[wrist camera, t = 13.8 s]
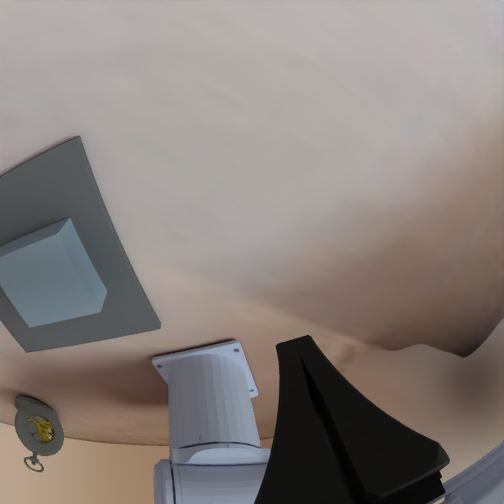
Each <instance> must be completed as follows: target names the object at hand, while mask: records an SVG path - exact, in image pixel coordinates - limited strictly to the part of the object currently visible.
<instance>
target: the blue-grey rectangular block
mask: <svg viewBox="0 0 504 504" xmlns="http://www.w3.org/2000/svg"><path fill="white" fill-rule="evenodd" d="M0 286H1V287H2V289H3V290H4V292H5V293H6V295H7V297H8V298H9V300H10V301H11V302H12V304H13V305H14V307H15V308H16V310H17V311H18V313H19V314H20V315H21V317H22V318H23V319H24V321H25V322H26V324H27V325H28V326H29V328H31V327H35V326H40V325H45V324H49V323H54V322H59V321H63V320H68V319H72V318H77V317H81V316H86V315H90V314H95V313H99V312H101V310H102V307H103V303H104V300H105V297H106V294H107V290H106V288H105V286H104V284H103V283H102V281H101V279H100V277H99V275H98V273H97V272H96V270H95V268H94V266H93V264H92V262H91V260H90V258H89V256H88V254H87V252H86V250H85V248H84V246H83V244H82V242H81V240H80V238H79V236H78V234H77V232H76V230H75V228H74V225H73V223H72V221H71V219H70V218H67V219H64V220H62V221H59V222H57V223H54V224H52V225H49V226H47V227H44V228H42V229H39V230H37V231H35V232H32V233H30V234H28V235H25V236H23V237H21V238H18V239H16V240H14V241H12V242H9V243H7V244H5V245H3V246H1V247H0Z"/></svg>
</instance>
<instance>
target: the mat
mask: <svg viewBox="0 0 504 504" xmlns="http://www.w3.org/2000/svg"><path fill="white" fill-rule="evenodd" d="M67 218H70V219H71V221H72V223H73V225H74V228H75V230H76V232H77V234H78V236H79V238H80V240H81V242H82V244H83V246H84V248H85V250H86V252H87V254H88V256H89V258H90V260H91V262H92V264H93V266H94V268H95V270H96V272H97V273H98V275H99V277H100V279H101V281H102V283H103V284H104V286H105V288H106V290H107V294H106V297H105V300H104V303H103V307H102V310H101V312H99V313H95V314H90V315H86V316H81V317H77V318H72V319H68V320H63V321H59V322H54V323H49V324H45V325H40V326H35V327H31V328H29V326H28V325H27V324H26V322H25V321H24V319H23V318H22V317H21V315H20V314H19V313H18V311H17V310H16V308H15V307H14V305H13V304H12V302H11V301H10V300H9V298H8V297H7V295H6V293H5V292H4V290H3V289H2V287H1V286H0V320H1V321H2V323H3V324H4V325H5V327H6V328H7V329H8V331H9V332H10V333H11V334H12V336H13V337H14V338H15V339H16V341H17V342H18V343H19V344H20V346H21V347H22V348H23V349H24V350H25V352H26V353H27V352H34V351H41V350H48V349H54V348H61V347H67V346H73V345H79V344H84V343H90V342H96V341H101V340H107V339H112V338H117V337H122V336H127V335H132V334H137V333H142V332H147V331H152V330H157V329H161V323H160V321H159V319H158V317H157V315H156V313H155V311H154V310H153V308H152V306H151V304H150V302H149V300H148V298H147V296H146V294H145V292H144V290H143V288H142V286H141V284H140V282H139V280H138V278H137V276H136V274H135V272H134V270H133V268H132V266H131V264H130V262H129V259H128V257H127V255H126V253H125V251H124V249H123V246H122V244H121V242H120V240H119V237H118V235H117V233H116V231H115V228H114V226H113V224H112V221H111V219H110V216H109V214H108V212H107V209H106V207H105V204H104V202H103V199H102V197H101V194H100V191H99V189H98V186H97V184H96V181H95V178H94V176H93V173H92V170H91V167H90V164H89V162H88V159H87V156H86V153H85V150H84V147H83V144H82V141H81V138H80V136H78V137H76V138H74V139H72V140H70V141H67V142H65V143H63V144H61V145H59V146H57V147H55V148H53V149H51V150H49V151H47V152H45V153H43V154H41V155H39V156H37V157H35V158H33V159H31V160H29V161H27V162H25V163H24V164H22V165H20V166H18V167H16V168H15V169H13V170H11V171H10V172H8V173H6V174H4V175H3V176H1V177H0V247H1V246H3V245H5V244H7V243H9V242H12V241H14V240H16V239H18V238H21V237H23V236H25V235H28V234H30V233H32V232H35V231H37V230H39V229H42V228H44V227H47V226H49V225H52V224H54V223H57V222H59V221H62V220H64V219H67Z"/></svg>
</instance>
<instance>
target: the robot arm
mask: <svg viewBox="0 0 504 504" xmlns="http://www.w3.org/2000/svg"><path fill="white" fill-rule="evenodd" d="M276 350H277V355H278V360H279V375H280V379H279V403H278V414H277V421H276V428H275V434H274V440H273V444H272V448H271V453H270V449H261V445H260V441H259V436H258V432H257V427H256V422H255V417H254V413H253V408H252V403H251V398H253V397H256V396H257V395H258V391H257V388H256V386H255V383H254V380H253V377H252V375H251V372H250V369H249V366H248V364H247V361H246V358H245V355H244V352H243V350H242V347H241V344H240V342H239V341H237V340H232V341H228V342H224V343H220V344H215V345H211V346H206V347H202V348H197V349H192V350H188V351H183V352H178V353H173V354H168V355H162V356H157V357H153V358H152V364H153V365H154V367H155V368H156V370H157V371H158V372H159V374H160V375H161V377H162V378H163V379H164V381H165V382H166V383H167V385H168V417H169V450H170V456H169V460H168V459H161V460H160V461H159V462H158V463H157V464H156V465H155V466H154V504H433V503H435V502H436V501H438V500H440V499H442V498H443V497H445V496H446V497H445V500H444V502H442V503H440V504H504V441H502V442H501V443H500V444H499V445H498V446H497V447H495V448H494V449H493V450H492V451H490V452H489V453H488V454H486V455H485V456H484V457H482V458H481V459H479V460H478V461H477V462H475V463H474V464H472V465H471V466H470V467H468V468H467V469H465V470H464V471H462V472H461V473H459V474H457V475H456V476H454V477H453V478H451V479H449V480H448V481H446V482H444V483H443V484H442V483H441V480H440V478H442V476H441V473H440V470H441V469H442V468H444V467H445V466H446V465H448V464H449V462H450V459H449V457H448V455H447V453H446V452H445V450H444V449H443V448H442V446H441V445H440V444H439V443H438V442H436V441H434V440H432V439H430V438H427V437H425V436H423V435H421V434H419V433H417V432H416V431H414V430H412V429H410V428H408V427H407V426H405V425H403V424H402V423H400V422H399V421H397V420H396V419H394V418H392V417H391V416H390V415H388V414H386V413H385V412H384V411H382V410H381V409H380V408H378V407H377V406H376V405H374V404H373V403H372V402H371V401H369V400H368V399H367V398H366V397H364V396H363V395H362V394H361V393H360V392H359V391H358V390H357V389H355V387H354V386H353V385H351V384H350V383H349V382H348V381H347V380H346V379H345V378H344V377H343V376H342V374H341V373H340V372H339V371H338V370H337V369H336V368H335V367H334V366H333V365H332V364H331V362H330V361H329V360H328V359H327V358H326V356H325V355H324V354H323V353H322V351H321V350H320V349H319V347H318V346H317V345H316V343H315V342H314V340H313V339H312V337H311V336H309V335H306V336H303V337H300V338H296V339H293V340H289V341H285V342H282V343H278V344H277V345H276Z"/></svg>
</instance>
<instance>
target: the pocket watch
mask: <svg viewBox="0 0 504 504" xmlns="http://www.w3.org/2000/svg"><path fill="white" fill-rule="evenodd" d="M14 405H15V407H16V409H17V410H18V412H17V414H16V416H15V429H16V433H17V435H18V437H19V439H20V440H21V442H22V443H23V445H24V446H25V447H27V449H29V450H30V451H32V452H33V456H30V457H26V458H24V463H25V464H26V465H27V467H29V468H30V469H32V468H31V467H30V466H29V465H28V464H27V462H26V460H27V459H30V460H31V461H32V464H33V465H35V463H39V460H38V459H37V458H36V457H37V454H38V455H41V456H50V455H54V454H56V453H57V452H58V451H59V450H60V449H61V447H62V445H63V441H64V432H63V428H62V426H61V423H60V421H59V418H58V415H57V414H56V413H55V412H54V411H53V410H52V409H51V408H49V407H48V406H46V405H45V404H43V403H41V402H39V401H37V400H34V399H32V398H28V397H17V398H16V399H15V402H14ZM29 419H30V420H31V421H28V420H29ZM38 423H39V424H38ZM46 428H47V429H46ZM48 428H49V429H51V431H52V433H51V432H49V431H48ZM43 433H44V434H43ZM48 433H49V434H50V435H52V437H51V440H50V439H49V438H48V436H49V435H48V436H47V434H48ZM49 437H50V436H49ZM44 438H46V439H44ZM48 439H49V440H50V441H49V440H48ZM46 440H47V441H46ZM39 464H40V466H41V467H42V469H41V470H35V469H32V470H34V471H37V472H42V471H43V470H44V468H43V466H42V464H41V463H39Z"/></svg>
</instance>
